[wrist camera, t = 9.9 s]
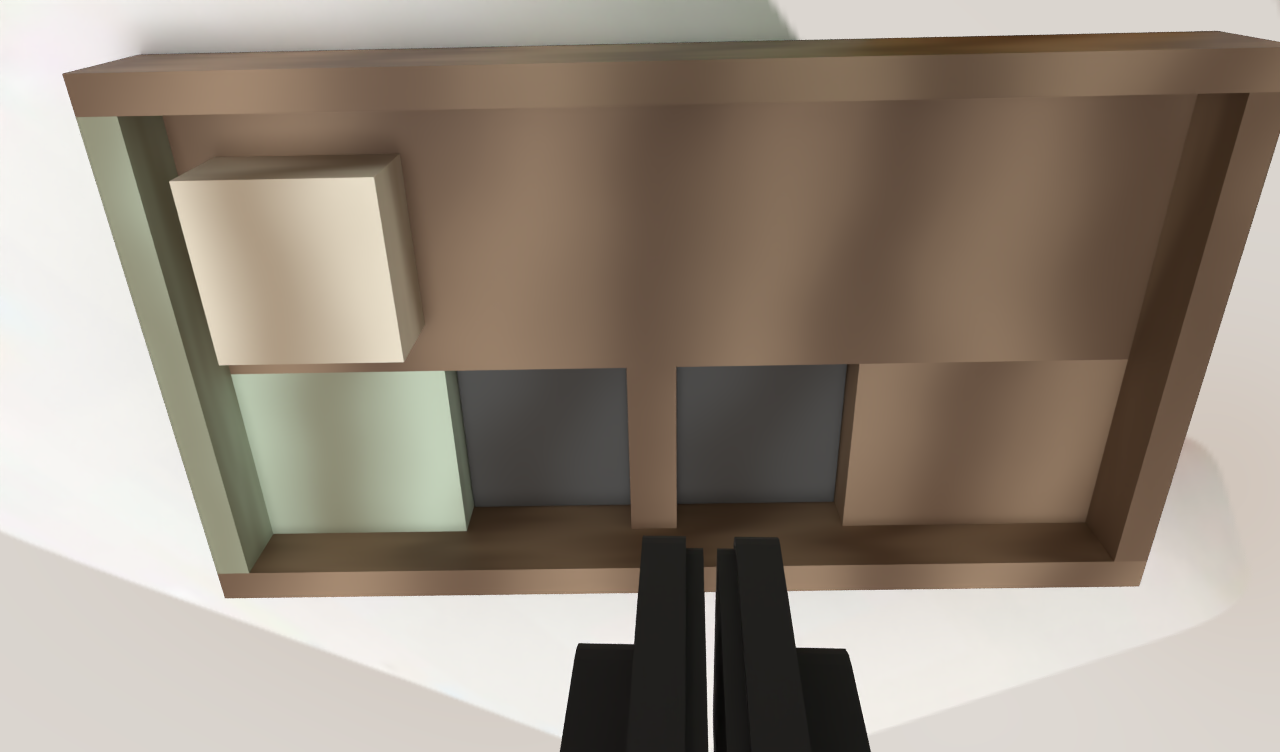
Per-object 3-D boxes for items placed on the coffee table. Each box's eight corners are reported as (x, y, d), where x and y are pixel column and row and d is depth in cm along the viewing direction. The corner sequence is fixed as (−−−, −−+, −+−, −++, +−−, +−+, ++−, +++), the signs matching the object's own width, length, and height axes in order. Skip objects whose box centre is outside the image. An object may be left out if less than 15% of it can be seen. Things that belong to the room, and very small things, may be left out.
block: (399, 153, 23) (374, 177, 21) (424, 324, 26) (403, 362, 23) (214, 157, 23) (169, 181, 21) (256, 327, 26) (219, 365, 23)
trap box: (1217, 31, 23) (1306, 46, 20) (1088, 519, 30) (1139, 586, 27) (139, 54, 24) (62, 73, 20) (267, 530, 31) (225, 598, 28)
